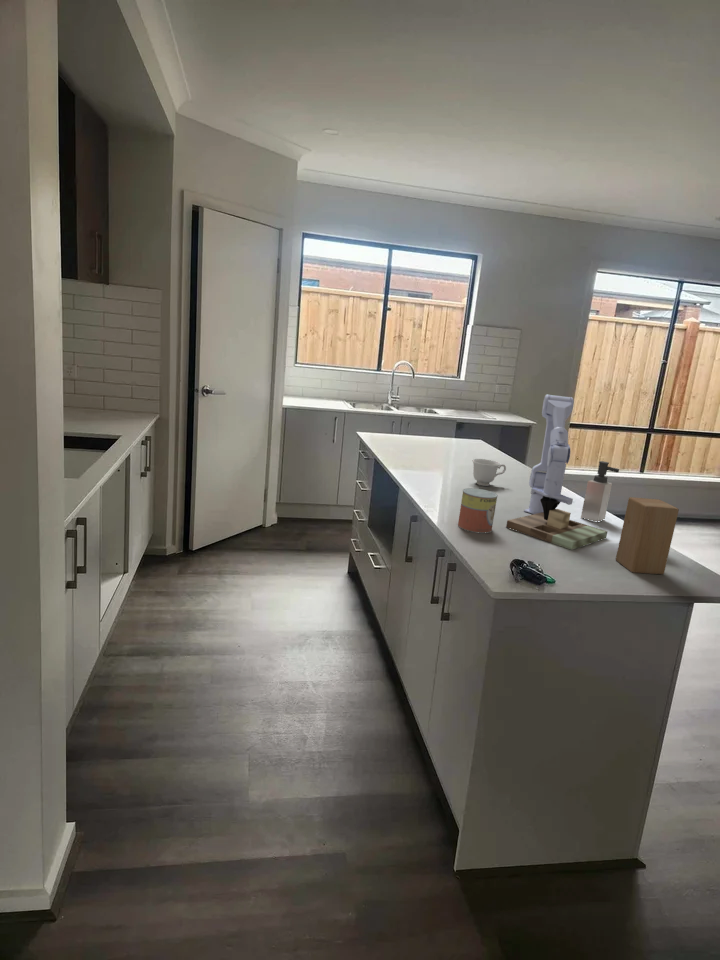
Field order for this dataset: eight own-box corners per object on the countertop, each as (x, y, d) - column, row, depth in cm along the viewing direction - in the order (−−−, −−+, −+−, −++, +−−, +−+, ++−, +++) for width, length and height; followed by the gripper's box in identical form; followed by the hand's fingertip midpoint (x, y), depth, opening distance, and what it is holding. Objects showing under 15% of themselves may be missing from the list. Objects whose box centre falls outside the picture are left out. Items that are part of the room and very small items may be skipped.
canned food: (484, 535, 198) (490, 499, 195) (452, 526, 203) (457, 491, 201) (496, 528, 207) (502, 493, 204) (465, 520, 213) (470, 486, 210)
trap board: (542, 518, 226) (544, 511, 225) (606, 538, 209) (607, 531, 209) (506, 527, 209) (507, 520, 209) (571, 549, 193) (573, 542, 192)
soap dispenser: (603, 524, 226) (615, 466, 221) (580, 518, 232) (591, 460, 227) (610, 522, 231) (622, 464, 226) (587, 515, 237) (598, 459, 232)
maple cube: (554, 522, 212) (557, 508, 211) (567, 527, 209) (570, 512, 208) (546, 524, 209) (549, 510, 208) (560, 529, 205) (563, 514, 204)
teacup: (505, 489, 266) (509, 467, 263) (471, 486, 265) (474, 463, 263) (500, 483, 277) (503, 461, 275) (467, 479, 277) (470, 457, 275)
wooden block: (614, 560, 188) (628, 496, 183) (646, 562, 189) (660, 499, 184) (631, 572, 178) (646, 506, 173) (664, 575, 179) (679, 508, 174)
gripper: (528, 476, 211) (522, 514, 214) (568, 487, 201) (560, 527, 204) (539, 475, 215) (533, 512, 219) (578, 485, 205) (570, 524, 209)
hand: (547, 519), depth 211 cm, fingers closed
